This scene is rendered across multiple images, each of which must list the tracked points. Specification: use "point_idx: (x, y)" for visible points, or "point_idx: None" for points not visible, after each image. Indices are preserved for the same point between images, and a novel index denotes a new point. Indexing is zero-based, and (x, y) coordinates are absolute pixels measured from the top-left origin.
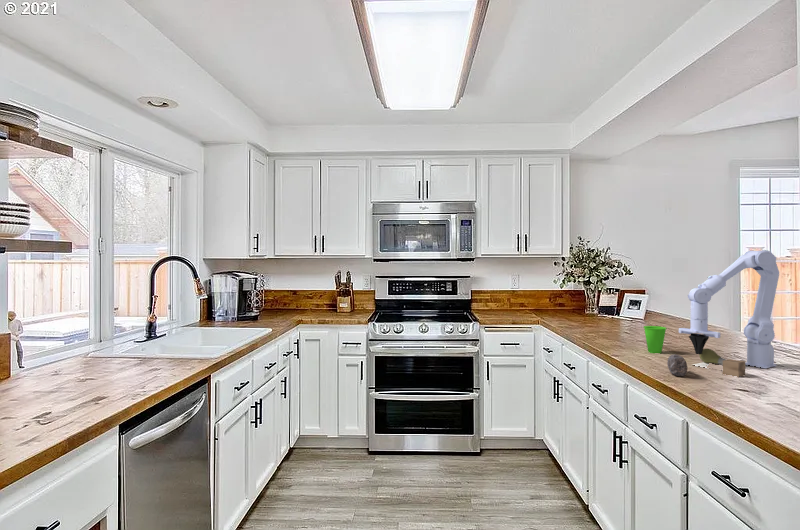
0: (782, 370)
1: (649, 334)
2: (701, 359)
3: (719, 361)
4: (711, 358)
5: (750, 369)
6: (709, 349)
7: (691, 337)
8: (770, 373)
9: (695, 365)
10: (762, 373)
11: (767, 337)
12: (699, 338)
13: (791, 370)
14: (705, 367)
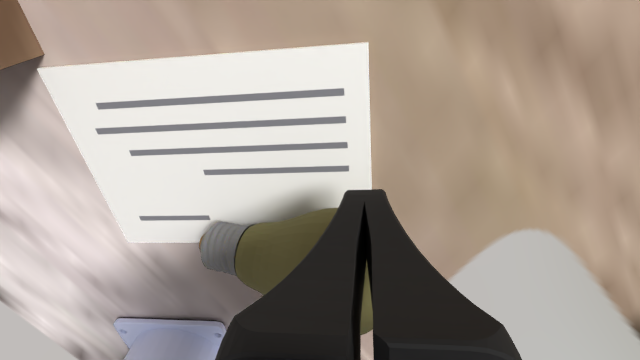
0: (80, 334)
1: None
2: None
3: (236, 231)
4: (281, 229)
5: (121, 259)
6: None
7: (449, 330)
8: (17, 246)
9: (332, 55)
10: (16, 215)
11: None
12: (274, 325)
13: (77, 354)
14: (235, 53)
